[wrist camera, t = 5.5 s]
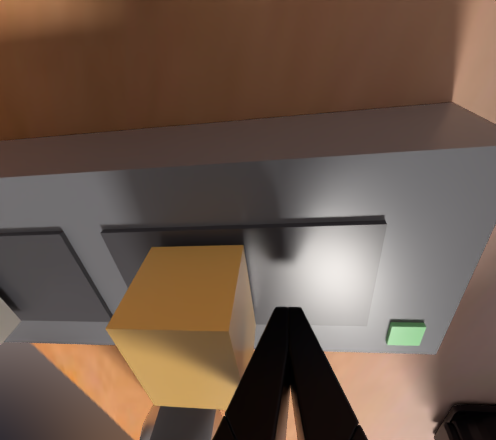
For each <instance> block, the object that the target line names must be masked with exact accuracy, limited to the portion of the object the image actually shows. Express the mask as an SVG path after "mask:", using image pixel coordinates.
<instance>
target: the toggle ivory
mask: <svg viewBox="0 0 496 440" xmlns="http://www.w3.org/2000/svg"><path fill="white" fill-rule="evenodd" d="M20 322H21V320H20V319H19V318H18V317H17V315H16V314H15V313H14V312H13V311H12V310H11V309H10V308H9V306H8V305H7V304H6V303H5V302H4V301H3V300H2V299H1V297H0V345H1V344H2V343H3V342H4V341H5V339H6V338H7V337H8V336H9V335H10V334H11V332H12V331H13V330H14V329H15V328H16V327H17V325H18V324H19V323H20Z"/></svg>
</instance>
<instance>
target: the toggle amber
mask: <svg viewBox="0 0 496 440" xmlns="http://www.w3.org/2000/svg"><path fill="white" fill-rule="evenodd" d="M255 329H256V323H255V316H254V310H253V303H252V297H251V290H250V284H249V278H248V271H247V265H246V258H245V252H244V246H243V245H220V246H177V247H151V249H150V251H149V252H148V254H147V256H146V258H145V260H144V261H143V263H142V265H141V267H140V268H139V270H138V272H137V274H136V276H135V277H134V279H133V281H132V283H131V284H130V286H129V288H128V290H127V291H126V293H125V295H124V297H123V299H122V300H121V302H120V304H119V306H118V307H117V309H116V311H115V313H114V314H113V316H112V318H111V320H110V322H109V323H108V325H107V327H106V331H107V332H108V334H109V335H110V337H111V338H112V340H113V342H114V343H115V345H116V346H117V348H118V349H119V351H120V353H121V354H122V356H123V357H124V359H125V360H126V362H127V363H128V365H129V367H130V368H131V370H132V371H133V373H134V374H135V376H136V378H137V379H138V381H139V382H140V384H141V385H142V387H143V388H144V390H145V392H146V393H147V395H148V396H149V398H150V399H151V401H152V403H153V404H154V406H169V407H186V408H203V409H219V410H227V408H228V406H229V403H230V401H231V399H232V397H233V395H234V393H235V391H236V389H237V387H238V384H239V382H240V380H241V378H242V376H243V374H244V372H245V370H246V367H247V365H248V363H249V361H250V359H251V357H252V355H253V352H254V340H255Z"/></svg>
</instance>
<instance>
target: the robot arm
mask: <svg viewBox="0 0 496 440" xmlns="http://www.w3.org/2000/svg"><path fill="white" fill-rule="evenodd" d="M290 387H291V395H292V402H293V409H294V417H295V424H296V431H297V439H298V440H368V439H367V437H366V435H365V433H364V431H363V429H362V427H361V426H360V425H358V424H359V422H358V419H357V417H356V415H355V413H354V411H353V409H352V407H351V405H350V403H349V401H348V399H347V397H346V395H345V393H344V391H343V389H342V388H341V386H340V384H339V382H338V380H337V378H336V376H335V374H334V372H333V370H332V368H331V366H330V364H329V362H328V360H327V358H326V356H325V354H324V352H323V350H322V348H321V346H320V344H319V342H318V340H317V338H316V336H315V334H314V332H313V330H312V328H311V326H310V324H309V322H308V320H307V318H306V316H305V314H304V312H303V310H302V308H301V307H275V308H274V310H273V312H272V315H271V317H270V319H269V321H268V323H267V325H266V327H265V329H264V331H263V334H262V336H261V338H260V340H259V342H258V344H257V346H256V348H255V351H254V353H253V355H252V357H251V359H250V361H249V363H248V365H247V367H246V370H245V372H244V374H243V376H242V378H241V380H240V382H239V384H238V387H237V389H236V391H235V393H234V395H233V397H232V399H231V401H230V403H229V406H228V408H227V410H226V412H225V416H223V418H222V420H221V422H220V424H219V426H218V428H217V431H216V433H215V435H214V437H213V439H212V440H286V429H287V418H288V407H289V396H290ZM434 439H435V440H496V406H481V405H455V406H453V407H452V409H451V410H450V412H449V413H448V415H447V417H446V418H445V420H444V421H443V423H442V424H441V426H440V428H439V429H438V431H437V432H436V434H435V436H434Z"/></svg>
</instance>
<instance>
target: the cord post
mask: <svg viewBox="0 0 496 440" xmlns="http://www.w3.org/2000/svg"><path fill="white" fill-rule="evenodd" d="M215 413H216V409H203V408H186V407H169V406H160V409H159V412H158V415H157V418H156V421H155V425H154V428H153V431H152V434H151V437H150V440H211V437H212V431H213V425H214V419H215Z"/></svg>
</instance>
